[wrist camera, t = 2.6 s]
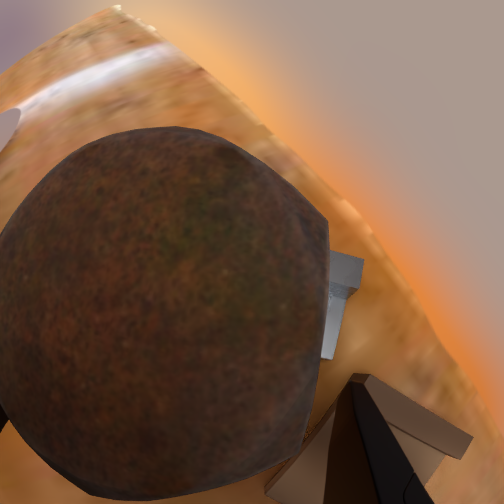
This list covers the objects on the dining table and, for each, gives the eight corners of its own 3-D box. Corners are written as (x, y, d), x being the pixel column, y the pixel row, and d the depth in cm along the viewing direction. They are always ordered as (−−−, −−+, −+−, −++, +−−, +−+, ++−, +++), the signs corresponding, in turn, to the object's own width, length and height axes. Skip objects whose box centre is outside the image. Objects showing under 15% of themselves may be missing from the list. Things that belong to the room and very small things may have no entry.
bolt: (261, 296, 18) (256, 82, 4) (292, 373, 17) (423, 401, 3) (172, 328, 18) (-28, 213, 4) (200, 406, 16) (11, 497, 2)
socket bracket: (326, 360, 17) (344, 358, 13) (151, 308, 18) (125, 293, 14) (344, 281, 18) (364, 259, 15) (178, 237, 20) (161, 208, 16)
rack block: (371, 534, 12) (385, 553, 9) (264, 487, 14) (264, 507, 11) (448, 431, 14) (473, 437, 11) (353, 373, 16) (370, 374, 14)
